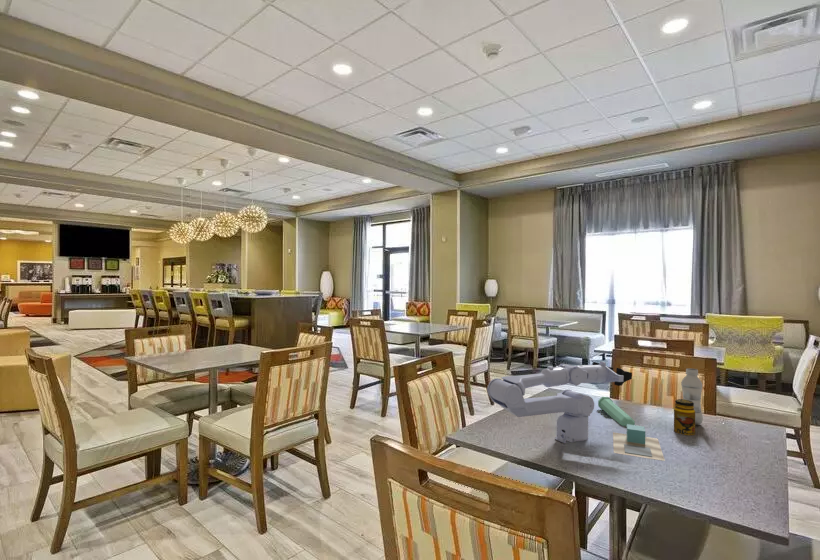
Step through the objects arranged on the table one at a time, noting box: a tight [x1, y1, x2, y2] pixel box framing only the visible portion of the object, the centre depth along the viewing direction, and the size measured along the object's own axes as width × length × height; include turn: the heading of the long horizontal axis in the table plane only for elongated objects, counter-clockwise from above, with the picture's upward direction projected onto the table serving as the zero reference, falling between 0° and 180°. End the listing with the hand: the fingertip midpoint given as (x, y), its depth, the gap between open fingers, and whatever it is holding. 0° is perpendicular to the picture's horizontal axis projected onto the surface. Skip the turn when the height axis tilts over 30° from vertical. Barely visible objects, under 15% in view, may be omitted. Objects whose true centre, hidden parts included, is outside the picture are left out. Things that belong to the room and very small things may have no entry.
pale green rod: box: [597, 396, 636, 427], centre depth 161 cm, size 6×6×25 cm
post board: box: [612, 431, 666, 462], centre depth 132 cm, size 19×13×4 cm
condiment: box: [673, 398, 696, 436], centre depth 145 cm, size 7×8×12 cm
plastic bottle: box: [681, 368, 704, 426], centre depth 157 cm, size 6×7×20 cm
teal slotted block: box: [626, 424, 646, 444], centre depth 136 cm, size 5×5×4 cm
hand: (621, 373), depth 147 cm, fingers open, 7 cm apart
